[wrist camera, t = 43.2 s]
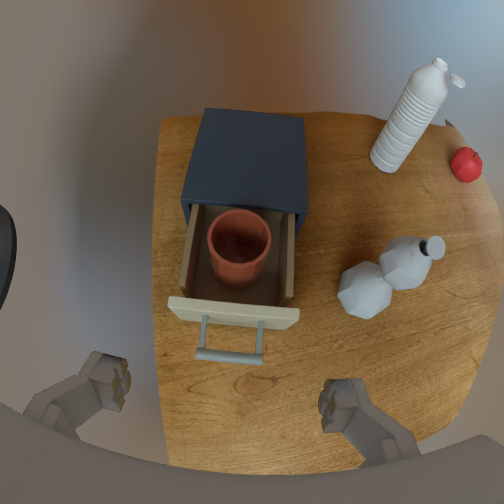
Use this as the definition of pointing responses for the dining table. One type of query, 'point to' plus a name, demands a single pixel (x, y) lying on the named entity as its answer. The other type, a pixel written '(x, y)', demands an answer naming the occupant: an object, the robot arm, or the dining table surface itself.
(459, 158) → the apple
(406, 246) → the gourd bottle
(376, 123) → the dining table surface
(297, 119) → the cabinet
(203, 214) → the drawer
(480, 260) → the dining table surface
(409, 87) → the water bottle
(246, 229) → the cup
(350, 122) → the dining table surface
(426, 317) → the dining table surface
